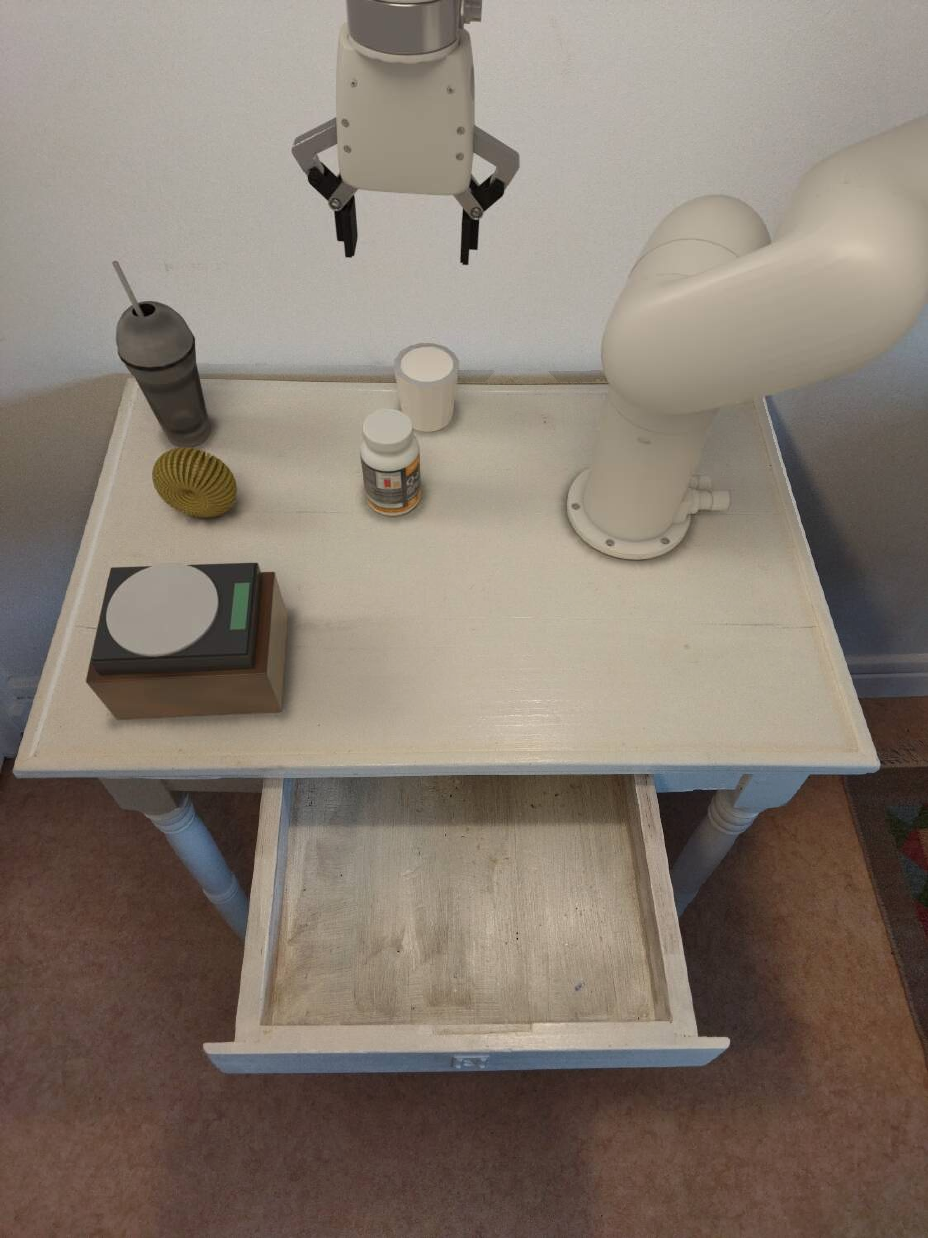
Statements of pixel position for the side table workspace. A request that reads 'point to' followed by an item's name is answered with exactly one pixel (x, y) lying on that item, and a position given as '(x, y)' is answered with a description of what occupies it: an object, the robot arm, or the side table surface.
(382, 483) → the pill bottle
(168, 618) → the kitchen scale
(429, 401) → the white cup
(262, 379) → the side table surface
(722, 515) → the side table surface
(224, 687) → the walnut riser
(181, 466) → the sculpture
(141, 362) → the beverage cup
